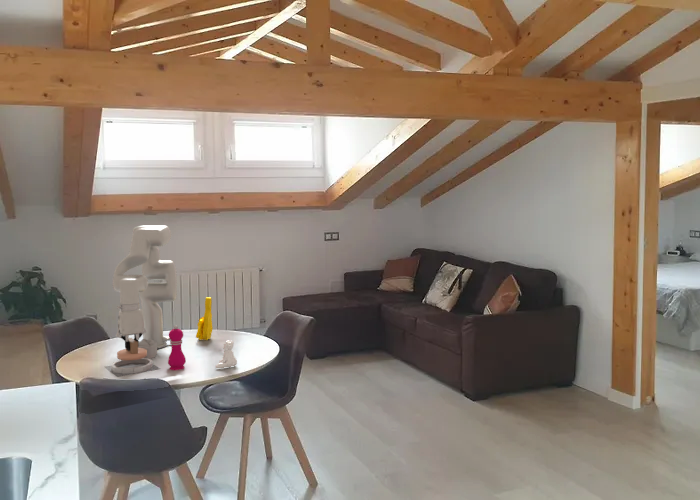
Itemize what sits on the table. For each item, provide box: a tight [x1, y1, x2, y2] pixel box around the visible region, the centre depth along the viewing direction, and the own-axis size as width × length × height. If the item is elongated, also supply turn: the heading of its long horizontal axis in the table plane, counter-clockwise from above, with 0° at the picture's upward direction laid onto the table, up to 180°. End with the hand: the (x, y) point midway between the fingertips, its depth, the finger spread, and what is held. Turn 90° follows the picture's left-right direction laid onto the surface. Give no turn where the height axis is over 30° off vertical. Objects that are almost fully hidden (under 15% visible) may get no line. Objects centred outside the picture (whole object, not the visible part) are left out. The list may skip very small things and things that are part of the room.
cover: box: [116, 337, 147, 361], centre depth 265 cm, size 12×12×7 cm
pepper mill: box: [167, 324, 187, 371], centre depth 265 cm, size 7×7×20 cm
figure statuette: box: [195, 296, 214, 341], centre depth 319 cm, size 18×8×22 cm, turn 176°
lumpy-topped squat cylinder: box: [138, 338, 158, 360], centre depth 285 cm, size 10×13×9 cm
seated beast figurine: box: [215, 339, 238, 369], centre depth 272 cm, size 10×9×12 cm
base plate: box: [104, 358, 161, 378], centre depth 266 cm, size 18×18×4 cm
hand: (131, 349), depth 265 cm, fingers closed on cover, 2 cm apart
